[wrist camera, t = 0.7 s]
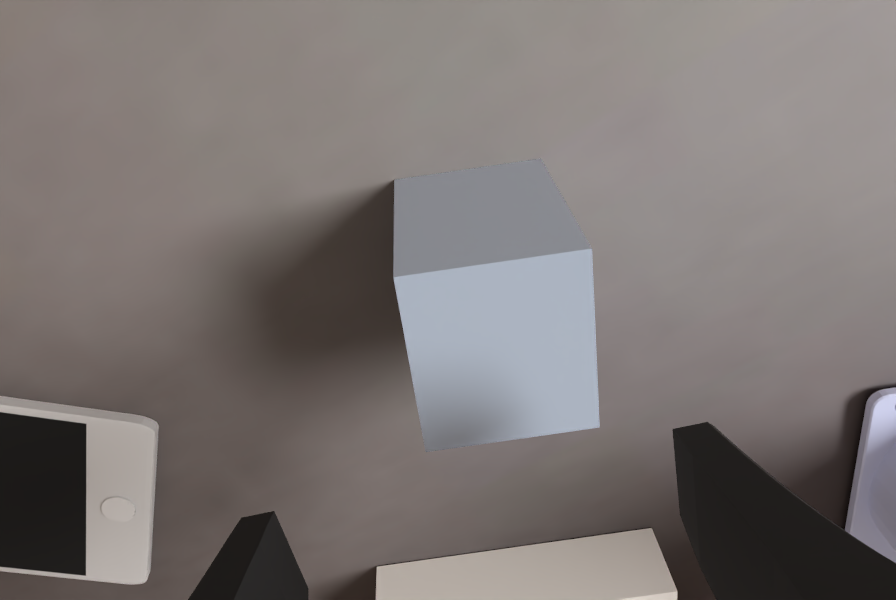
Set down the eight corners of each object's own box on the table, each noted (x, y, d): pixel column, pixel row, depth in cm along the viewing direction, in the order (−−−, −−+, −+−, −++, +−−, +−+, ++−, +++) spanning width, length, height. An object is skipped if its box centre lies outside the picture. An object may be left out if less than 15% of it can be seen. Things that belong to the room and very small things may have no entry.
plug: (540, 158, 20) (592, 248, 15) (551, 303, 22) (599, 427, 17) (394, 179, 20) (393, 277, 15) (418, 322, 22) (425, 452, 17)
